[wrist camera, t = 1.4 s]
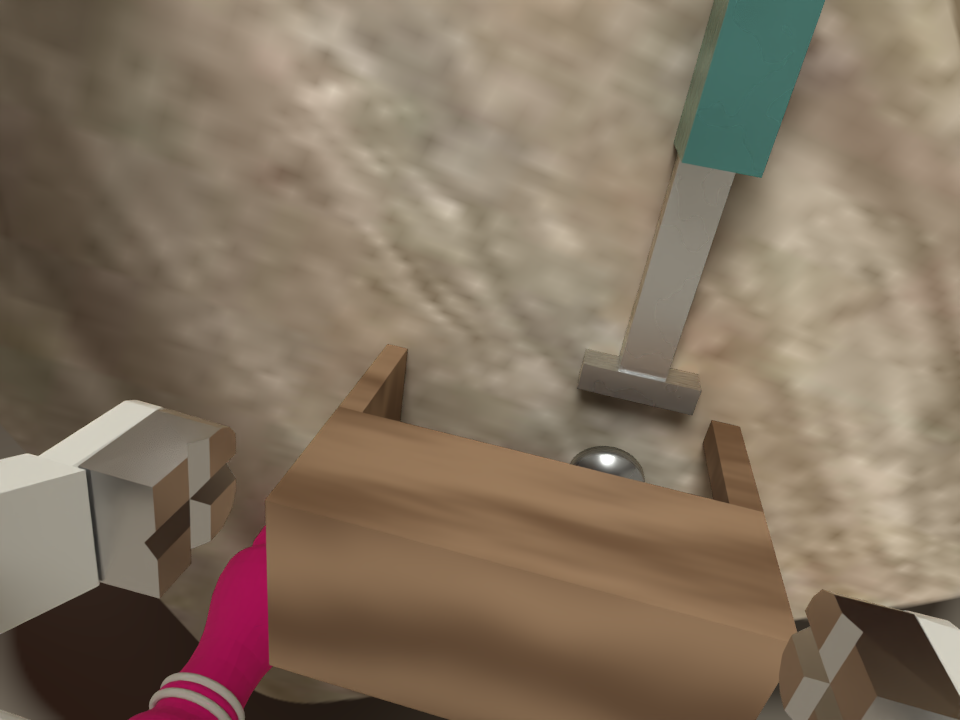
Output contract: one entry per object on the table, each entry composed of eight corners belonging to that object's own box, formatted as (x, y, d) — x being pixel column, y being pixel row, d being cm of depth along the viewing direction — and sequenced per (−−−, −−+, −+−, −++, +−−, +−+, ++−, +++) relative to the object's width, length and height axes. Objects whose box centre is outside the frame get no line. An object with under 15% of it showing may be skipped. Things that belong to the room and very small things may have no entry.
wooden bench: (387, 344, 36) (265, 500, 24) (739, 426, 34) (800, 645, 22) (376, 478, 41) (269, 664, 29) (684, 558, 39) (708, 798, 27)
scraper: (695, -74, 25) (708, -97, 20) (852, -51, 24) (902, -70, 20) (579, 372, 35) (572, 420, 30) (689, 397, 34) (698, 451, 30)
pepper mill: (369, 570, 45) (206, 905, 28) (296, 593, 48) (106, 910, 31) (311, 495, 43) (95, 807, 26) (238, 523, 46) (-1, 821, 28)
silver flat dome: (576, 435, 37) (574, 447, 36) (653, 454, 36) (654, 466, 35) (560, 494, 39) (558, 506, 38) (633, 512, 38) (633, 525, 37)
